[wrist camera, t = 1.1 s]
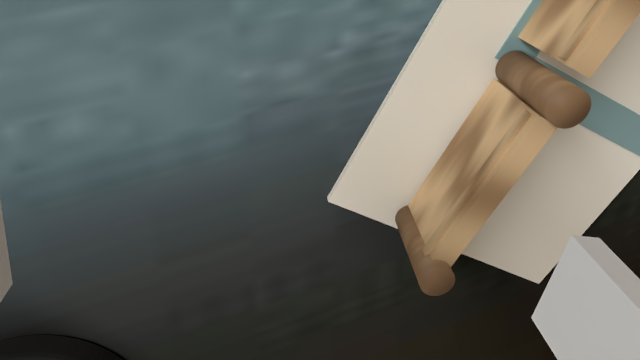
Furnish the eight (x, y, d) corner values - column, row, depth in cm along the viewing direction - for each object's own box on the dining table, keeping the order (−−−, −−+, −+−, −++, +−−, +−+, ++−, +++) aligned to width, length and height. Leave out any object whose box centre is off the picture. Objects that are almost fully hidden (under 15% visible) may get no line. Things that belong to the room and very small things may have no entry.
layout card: (535, 279, 43) (539, 285, 42) (327, 197, 37) (328, 202, 37) (815, -42, 32) (826, -41, 31) (577, -232, 26) (585, -235, 25)
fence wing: (509, 44, 32) (568, 81, 25) (536, 59, 32) (600, 99, 26) (389, 223, 37) (413, 289, 31) (414, 233, 38) (442, 299, 32)
